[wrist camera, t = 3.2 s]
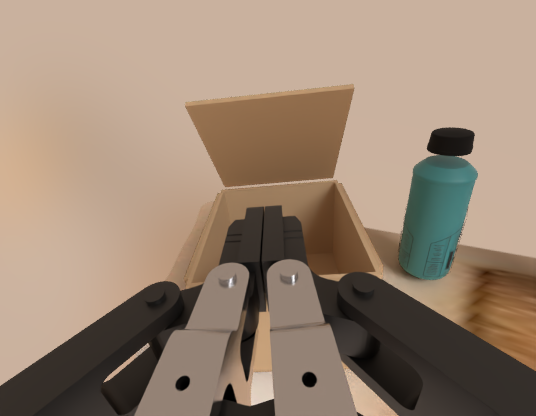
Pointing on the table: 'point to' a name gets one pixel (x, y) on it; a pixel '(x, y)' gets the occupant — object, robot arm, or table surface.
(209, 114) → the carton flap
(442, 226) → the beverage bottle
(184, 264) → the table surface
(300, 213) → the carton
